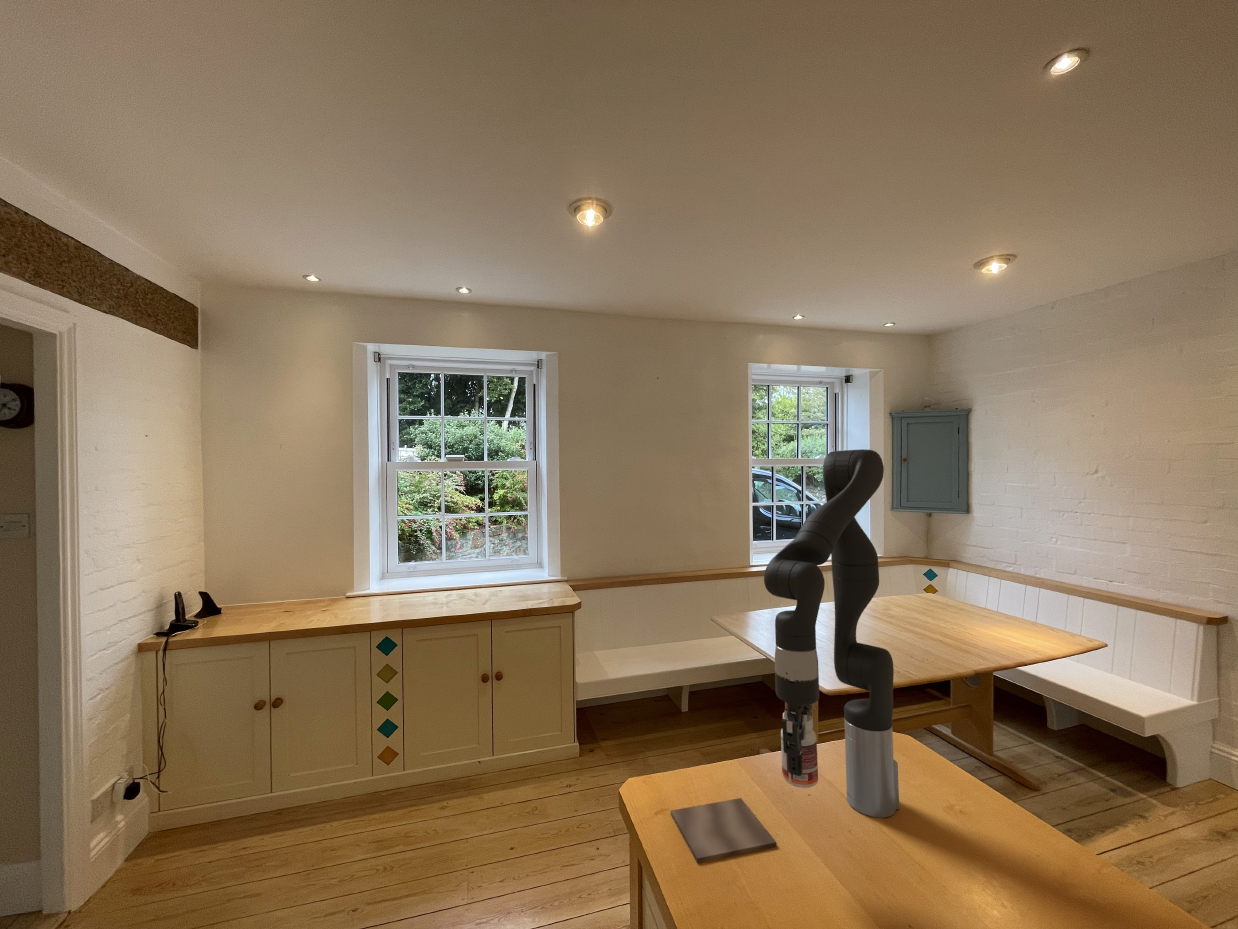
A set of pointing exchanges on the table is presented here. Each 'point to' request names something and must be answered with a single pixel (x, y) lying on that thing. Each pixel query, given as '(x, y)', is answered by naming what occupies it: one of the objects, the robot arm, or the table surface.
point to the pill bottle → (803, 759)
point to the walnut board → (721, 830)
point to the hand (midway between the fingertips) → (799, 764)
